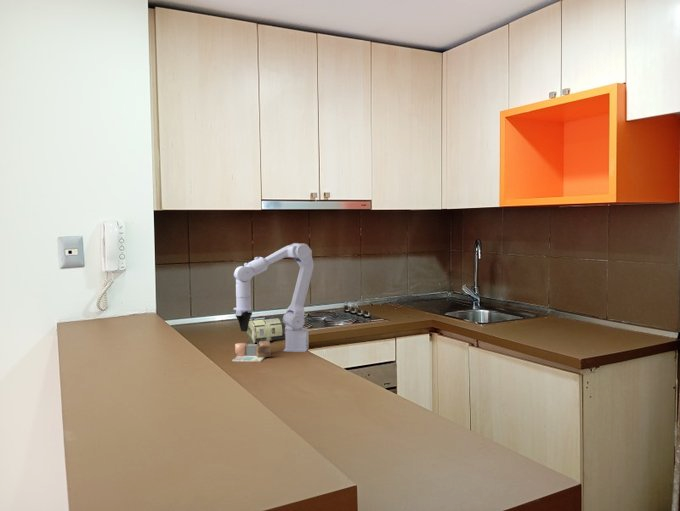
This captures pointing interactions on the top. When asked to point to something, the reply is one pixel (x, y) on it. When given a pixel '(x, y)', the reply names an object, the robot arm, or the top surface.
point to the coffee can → (266, 330)
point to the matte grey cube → (251, 349)
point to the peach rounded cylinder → (264, 343)
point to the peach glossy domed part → (240, 349)
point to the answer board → (248, 359)
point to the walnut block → (263, 351)
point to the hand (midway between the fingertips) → (244, 331)
